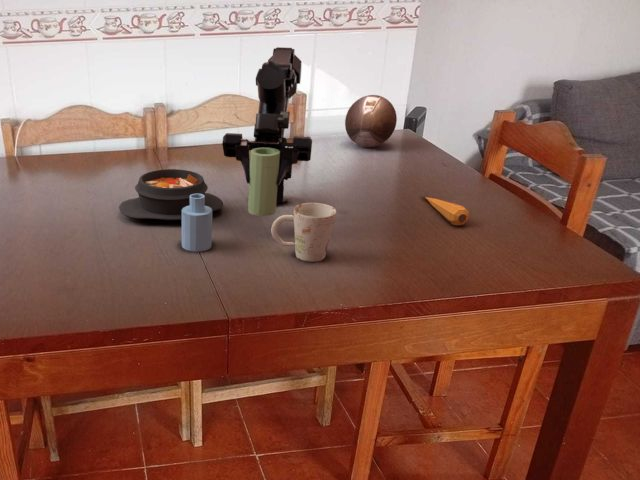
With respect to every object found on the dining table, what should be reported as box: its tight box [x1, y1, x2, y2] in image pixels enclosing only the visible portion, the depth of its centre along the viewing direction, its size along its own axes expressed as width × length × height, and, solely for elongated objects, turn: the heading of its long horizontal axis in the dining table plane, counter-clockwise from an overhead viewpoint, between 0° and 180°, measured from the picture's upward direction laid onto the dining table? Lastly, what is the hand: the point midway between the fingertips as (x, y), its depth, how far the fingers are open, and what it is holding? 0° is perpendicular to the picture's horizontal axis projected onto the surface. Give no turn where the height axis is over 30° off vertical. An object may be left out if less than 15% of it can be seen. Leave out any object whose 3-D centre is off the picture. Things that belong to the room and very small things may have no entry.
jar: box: [247, 147, 280, 217], centre depth 148 cm, size 6×6×13 cm
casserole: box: [118, 168, 224, 222], centre depth 164 cm, size 25×19×8 cm
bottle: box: [181, 194, 213, 253], centre depth 146 cm, size 6×6×11 cm
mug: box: [270, 202, 337, 263], centre depth 142 cm, size 8×13×10 cm, turn 78°
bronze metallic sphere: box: [344, 94, 398, 148], centre depth 210 cm, size 15×15×15 cm
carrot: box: [424, 196, 470, 226], centre depth 165 cm, size 20×4×4 cm, turn 6°
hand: (262, 183), depth 147 cm, fingers closed on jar, 6 cm apart
